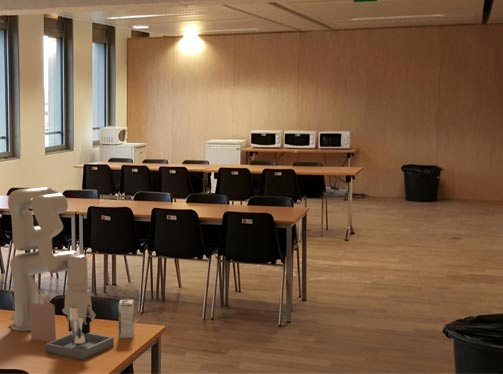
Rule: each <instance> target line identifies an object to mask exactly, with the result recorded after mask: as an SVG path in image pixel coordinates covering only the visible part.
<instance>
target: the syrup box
mask: <svg viewBox="0 0 503 374" xmlns="http://www.w3.org/2000/svg"><path fill="white" fill-rule="evenodd" d="M134 301H135V300H134V299H120V300H119V303H118V339H129V338H130V339H133V338H134V335H135V306H134V305H135V302H134Z"/></svg>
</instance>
